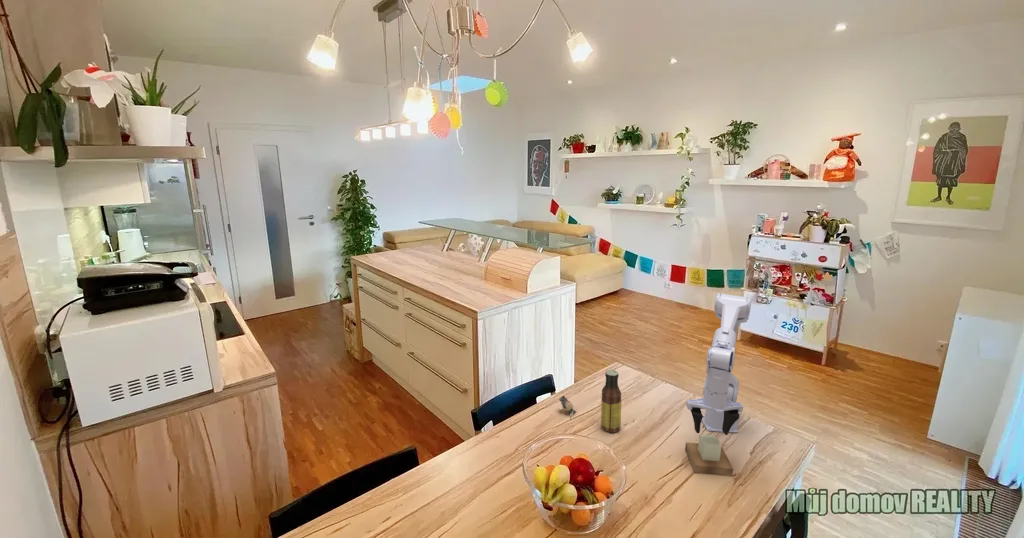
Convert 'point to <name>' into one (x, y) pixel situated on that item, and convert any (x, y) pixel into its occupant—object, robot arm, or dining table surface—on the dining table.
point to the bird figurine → (567, 405)
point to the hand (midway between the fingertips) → (710, 431)
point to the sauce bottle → (611, 403)
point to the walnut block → (708, 462)
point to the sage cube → (709, 447)
